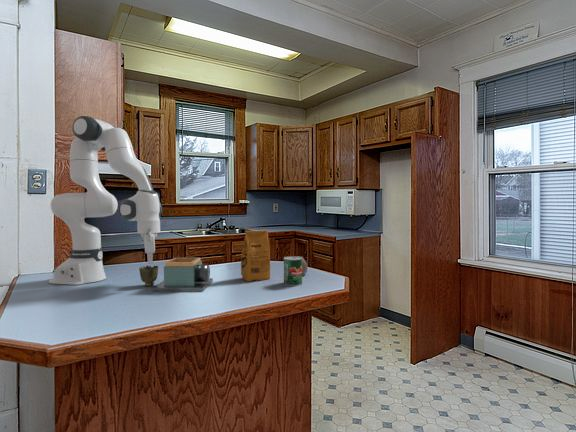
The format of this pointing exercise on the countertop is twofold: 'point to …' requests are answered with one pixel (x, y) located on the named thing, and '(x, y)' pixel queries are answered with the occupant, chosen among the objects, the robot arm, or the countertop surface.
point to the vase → (303, 266)
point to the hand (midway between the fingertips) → (150, 262)
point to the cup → (149, 274)
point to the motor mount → (184, 276)
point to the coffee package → (255, 256)
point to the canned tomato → (292, 271)
